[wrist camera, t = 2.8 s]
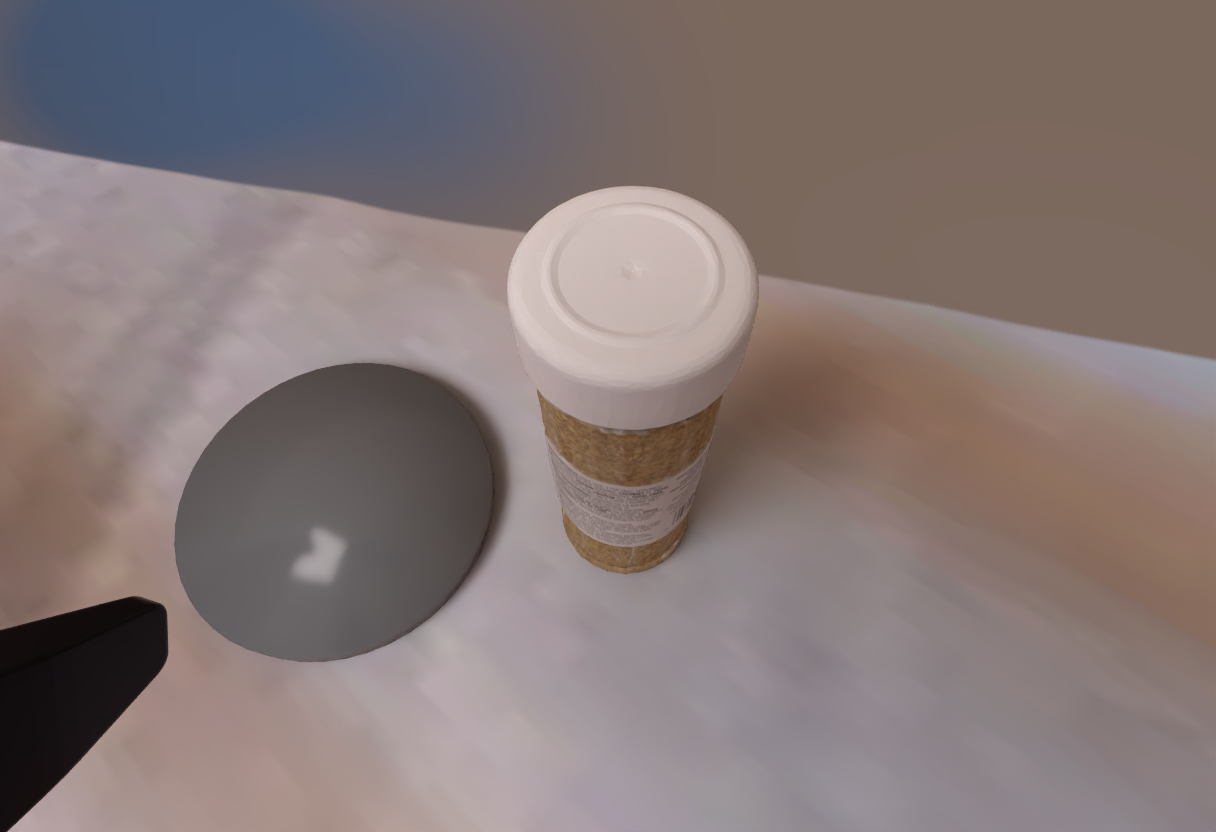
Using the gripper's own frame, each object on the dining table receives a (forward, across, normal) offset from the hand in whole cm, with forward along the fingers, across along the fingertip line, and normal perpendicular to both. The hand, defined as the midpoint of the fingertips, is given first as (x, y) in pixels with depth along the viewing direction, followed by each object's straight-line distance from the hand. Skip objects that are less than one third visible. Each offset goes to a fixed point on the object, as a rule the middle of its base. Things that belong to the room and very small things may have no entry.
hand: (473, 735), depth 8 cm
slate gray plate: (+13, +10, +6) cm, 17 cm away
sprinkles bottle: (+15, 0, +4) cm, 15 cm away
